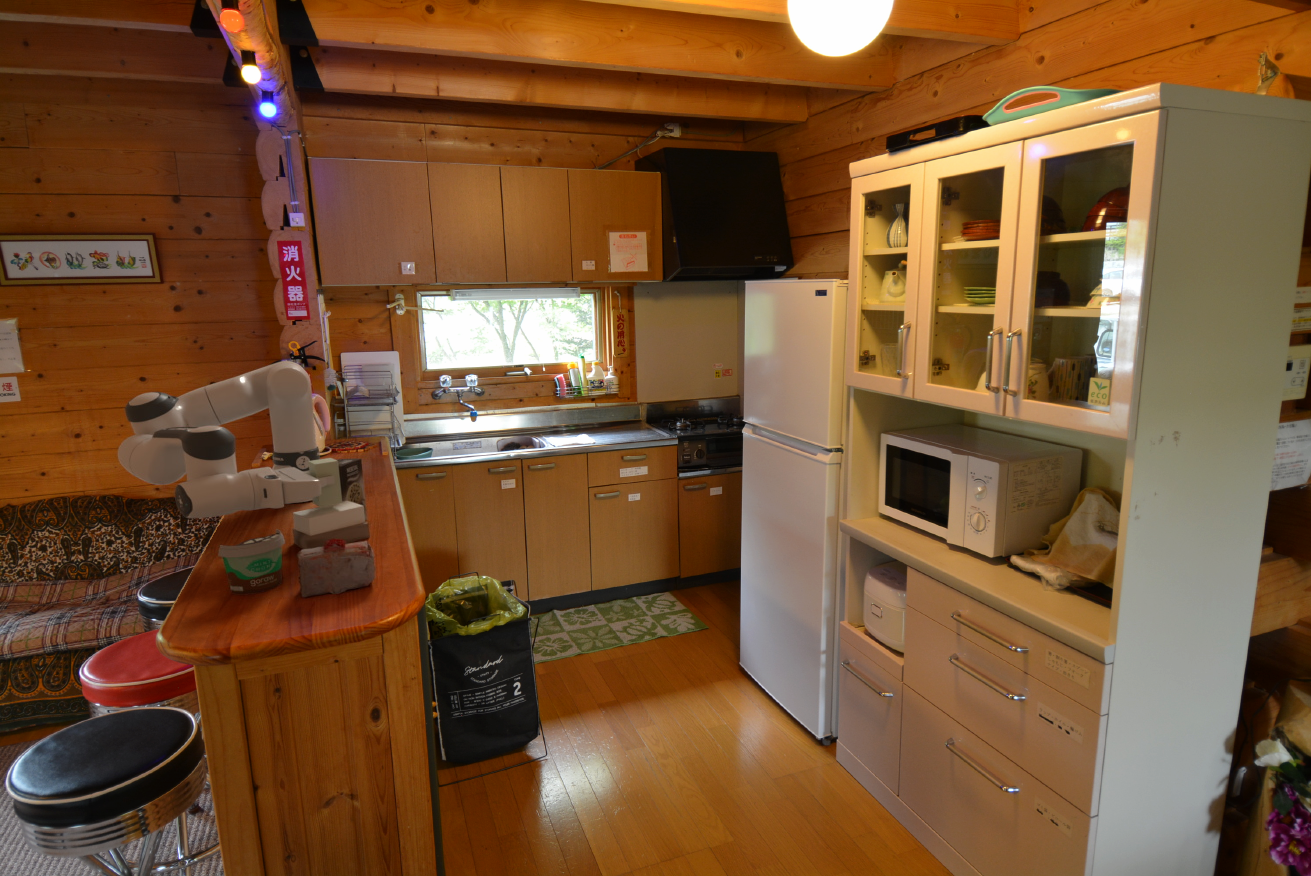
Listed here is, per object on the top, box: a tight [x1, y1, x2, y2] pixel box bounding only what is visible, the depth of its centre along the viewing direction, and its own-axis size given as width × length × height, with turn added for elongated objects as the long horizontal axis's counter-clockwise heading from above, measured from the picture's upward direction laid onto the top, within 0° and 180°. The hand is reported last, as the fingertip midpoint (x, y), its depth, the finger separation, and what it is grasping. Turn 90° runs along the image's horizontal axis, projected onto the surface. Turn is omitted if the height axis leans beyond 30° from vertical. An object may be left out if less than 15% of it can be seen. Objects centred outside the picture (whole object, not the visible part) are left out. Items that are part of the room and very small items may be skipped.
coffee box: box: [336, 458, 368, 521], centre depth 186 cm, size 9×6×16 cm
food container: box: [218, 528, 286, 595], centre depth 145 cm, size 12×6×10 cm, turn 148°
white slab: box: [292, 501, 366, 536], centre depth 174 cm, size 8×13×4 cm, turn 139°
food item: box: [296, 538, 376, 598], centre depth 144 cm, size 14×8×10 cm, turn 117°
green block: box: [308, 457, 342, 507], centre depth 173 cm, size 5×5×10 cm
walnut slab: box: [292, 521, 371, 550], centre depth 175 cm, size 9×14×4 cm, turn 134°
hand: (329, 476), depth 173 cm, fingers closed on green block, 5 cm apart
